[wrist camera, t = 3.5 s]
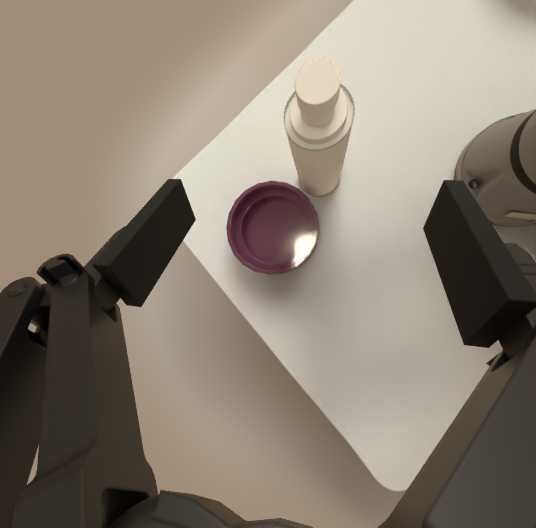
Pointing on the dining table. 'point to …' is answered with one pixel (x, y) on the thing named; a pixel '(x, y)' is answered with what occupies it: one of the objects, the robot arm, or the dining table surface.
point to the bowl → (272, 227)
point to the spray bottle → (319, 125)
